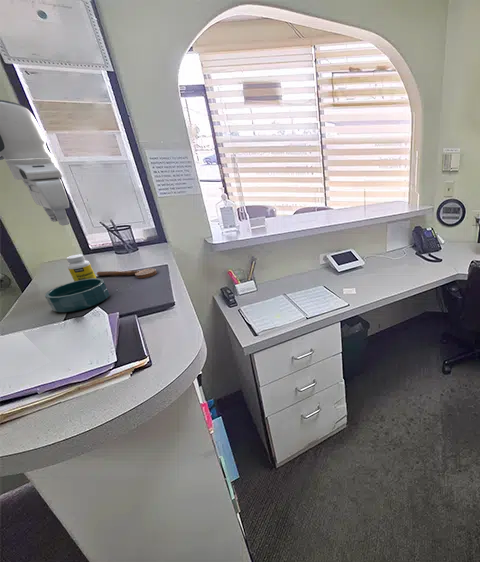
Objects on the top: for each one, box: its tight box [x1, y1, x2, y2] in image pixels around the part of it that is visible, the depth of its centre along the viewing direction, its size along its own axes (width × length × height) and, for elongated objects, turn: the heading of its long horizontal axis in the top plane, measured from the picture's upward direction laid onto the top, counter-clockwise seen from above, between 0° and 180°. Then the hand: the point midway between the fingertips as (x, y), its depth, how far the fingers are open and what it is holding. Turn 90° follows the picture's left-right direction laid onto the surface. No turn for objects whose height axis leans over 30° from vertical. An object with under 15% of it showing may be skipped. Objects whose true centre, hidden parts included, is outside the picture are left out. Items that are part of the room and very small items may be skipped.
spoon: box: [96, 267, 158, 279], centre depth 107 cm, size 21×6×2 cm, turn 87°
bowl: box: [44, 277, 110, 313], centre depth 88 cm, size 12×12×5 cm
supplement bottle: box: [66, 253, 97, 282], centre depth 99 cm, size 5×5×10 cm
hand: (60, 222), depth 86 cm, fingers open, 8 cm apart
